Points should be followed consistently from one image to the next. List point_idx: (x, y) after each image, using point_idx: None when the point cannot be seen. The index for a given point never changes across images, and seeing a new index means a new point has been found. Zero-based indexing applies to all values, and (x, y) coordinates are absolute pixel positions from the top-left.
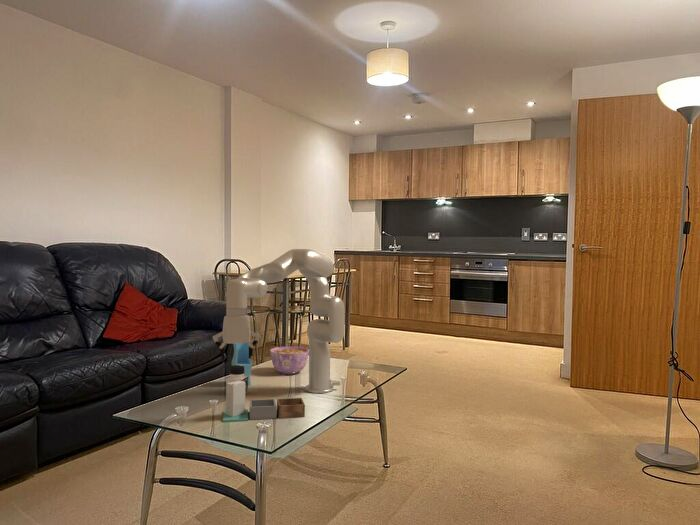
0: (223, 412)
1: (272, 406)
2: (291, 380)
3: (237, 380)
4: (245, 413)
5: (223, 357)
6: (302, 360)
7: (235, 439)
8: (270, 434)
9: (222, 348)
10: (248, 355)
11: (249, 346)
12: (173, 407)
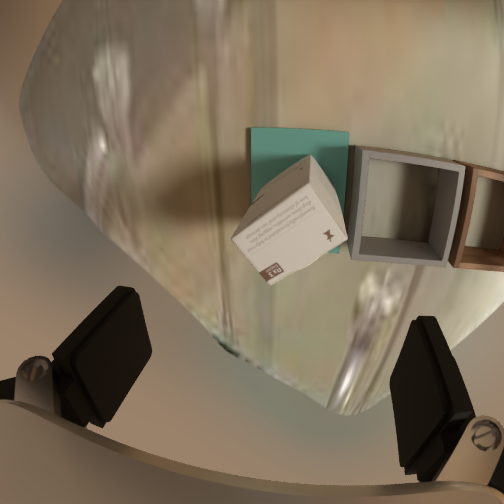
0: (251, 155)
1: (432, 265)
2: None
3: None
4: (336, 186)
5: (140, 365)
6: None
7: (285, 371)
8: (373, 362)
9: (83, 410)
10: None
11: (418, 478)
12: (88, 66)
